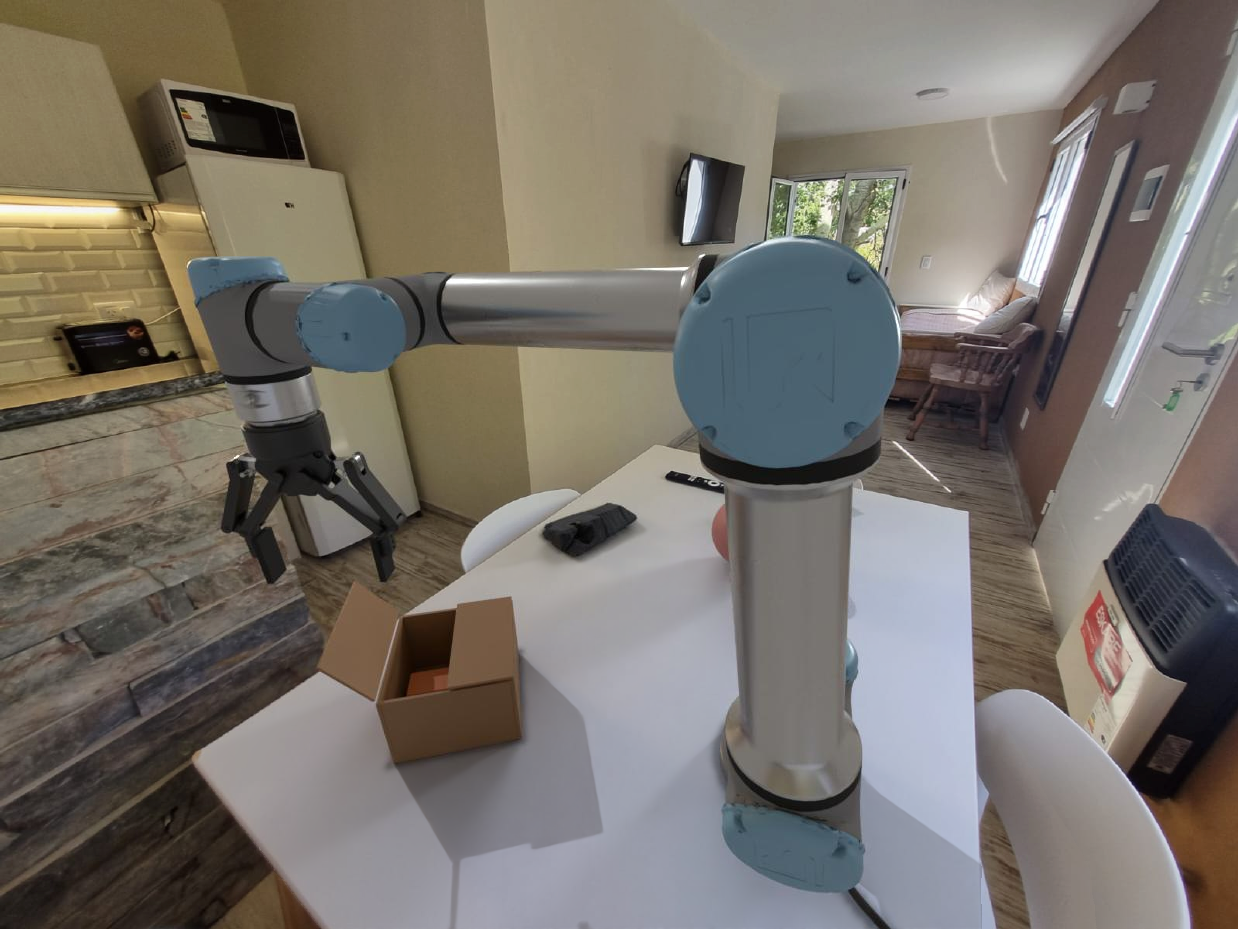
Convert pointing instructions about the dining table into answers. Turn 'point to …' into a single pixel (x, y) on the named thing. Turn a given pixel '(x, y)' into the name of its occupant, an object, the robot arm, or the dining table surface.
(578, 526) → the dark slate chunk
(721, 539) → the balloon
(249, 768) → the dining table surface
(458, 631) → the box
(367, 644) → the flap
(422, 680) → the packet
